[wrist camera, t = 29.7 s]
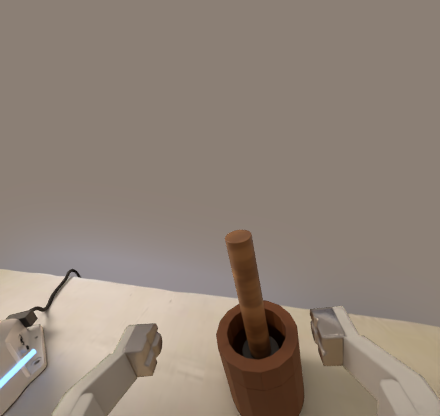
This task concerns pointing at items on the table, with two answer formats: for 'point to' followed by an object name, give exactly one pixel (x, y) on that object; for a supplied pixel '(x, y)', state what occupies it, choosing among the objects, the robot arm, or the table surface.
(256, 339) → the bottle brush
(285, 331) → the cylindrical container
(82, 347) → the table surface
